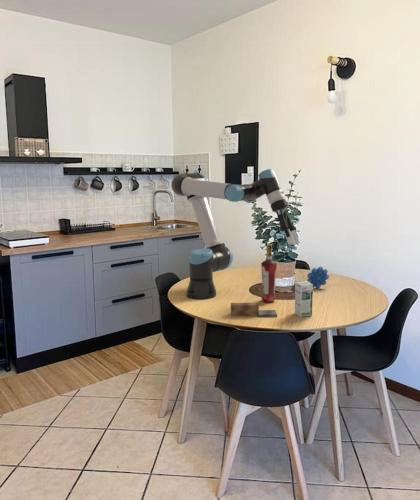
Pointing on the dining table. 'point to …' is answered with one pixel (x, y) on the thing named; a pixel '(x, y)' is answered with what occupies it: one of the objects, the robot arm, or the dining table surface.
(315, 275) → the grapes
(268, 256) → the liquor
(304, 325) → the dining table surface
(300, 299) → the syrup box
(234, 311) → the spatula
